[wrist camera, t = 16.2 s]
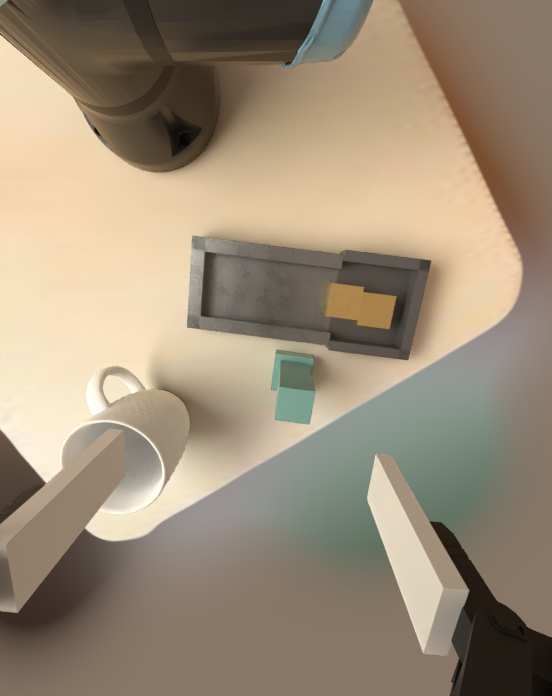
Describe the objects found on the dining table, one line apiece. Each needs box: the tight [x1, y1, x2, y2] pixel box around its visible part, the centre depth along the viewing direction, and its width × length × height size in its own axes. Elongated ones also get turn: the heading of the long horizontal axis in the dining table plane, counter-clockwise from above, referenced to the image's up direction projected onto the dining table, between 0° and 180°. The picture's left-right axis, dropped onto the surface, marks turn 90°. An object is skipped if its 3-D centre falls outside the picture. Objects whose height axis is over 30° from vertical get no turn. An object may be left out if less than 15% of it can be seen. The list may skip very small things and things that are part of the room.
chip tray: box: [326, 250, 431, 360], centre depth 37 cm, size 12×10×3 cm
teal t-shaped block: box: [271, 350, 315, 424], centre depth 34 cm, size 5×5×12 cm
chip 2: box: [353, 292, 397, 329], centre depth 36 cm, size 4×4×2 cm
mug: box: [60, 366, 190, 514], centre depth 36 cm, size 15×11×13 cm
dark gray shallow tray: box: [187, 236, 344, 345], centre depth 37 cm, size 11×18×2 cm, turn 83°
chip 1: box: [323, 283, 364, 320], centre depth 36 cm, size 4×4×2 cm
